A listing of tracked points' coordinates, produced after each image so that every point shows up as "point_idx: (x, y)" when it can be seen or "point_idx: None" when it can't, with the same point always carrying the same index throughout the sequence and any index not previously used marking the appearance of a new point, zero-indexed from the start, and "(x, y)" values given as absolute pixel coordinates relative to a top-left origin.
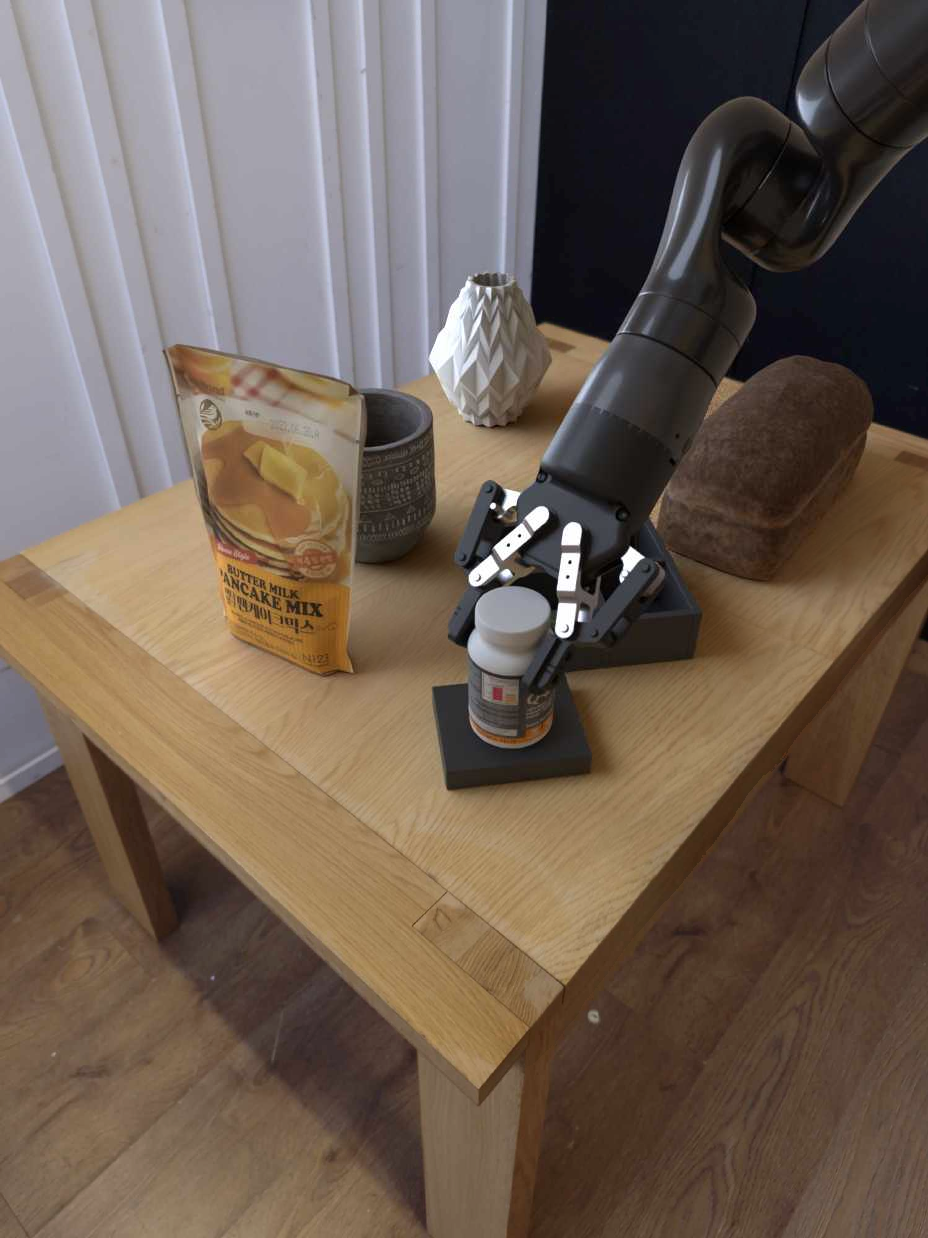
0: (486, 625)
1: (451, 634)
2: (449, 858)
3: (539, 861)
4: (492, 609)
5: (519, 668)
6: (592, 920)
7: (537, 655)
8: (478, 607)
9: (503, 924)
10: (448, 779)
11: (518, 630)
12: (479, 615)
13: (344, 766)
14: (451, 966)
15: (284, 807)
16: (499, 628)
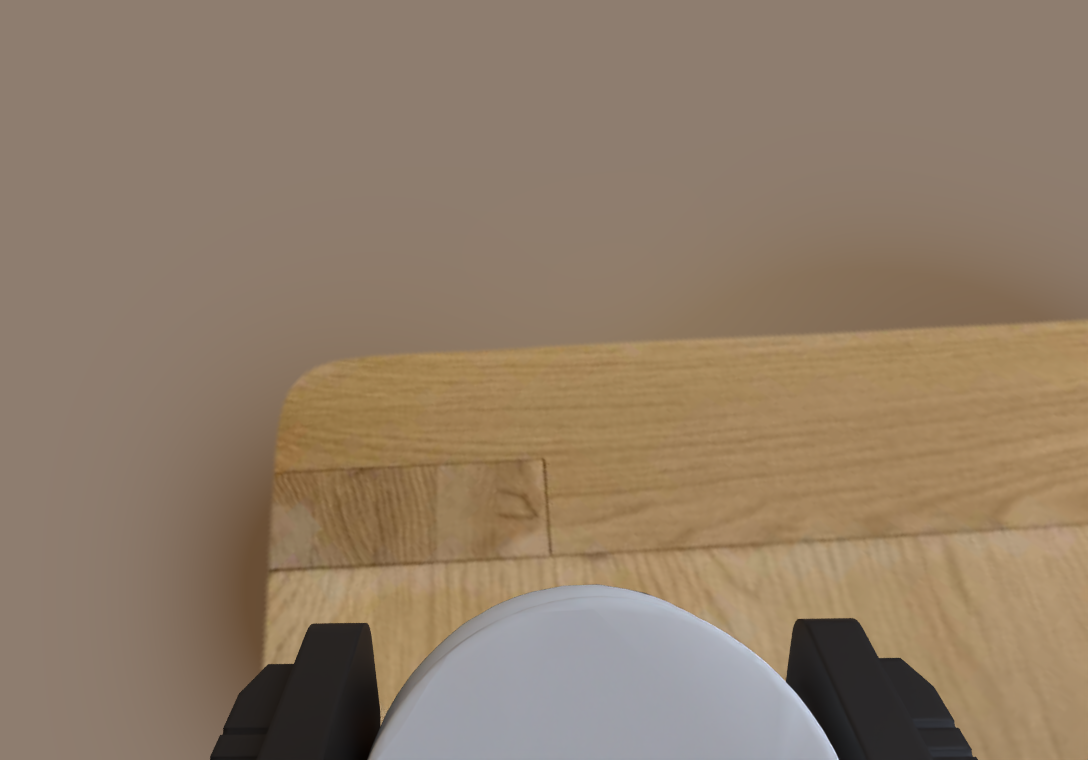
0: (606, 599)
1: (837, 622)
2: None
3: None
4: (695, 748)
5: (413, 678)
6: None
7: (318, 742)
8: (774, 695)
9: (421, 581)
10: None
11: (420, 704)
12: (707, 638)
13: (959, 614)
14: (436, 455)
15: (930, 451)
16: (525, 632)
